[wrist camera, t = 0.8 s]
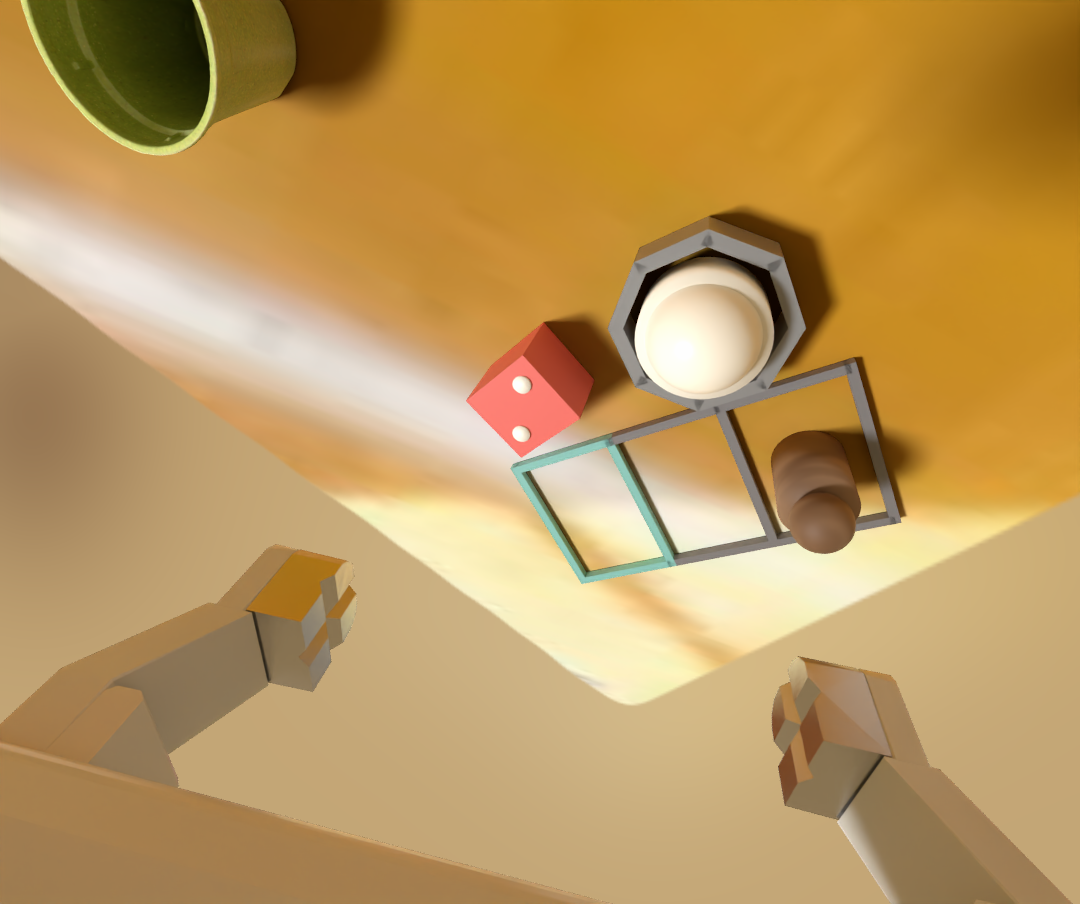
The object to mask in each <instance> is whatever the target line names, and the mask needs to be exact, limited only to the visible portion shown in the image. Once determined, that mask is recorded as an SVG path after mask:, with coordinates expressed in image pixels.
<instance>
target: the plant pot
mask: <svg viewBox="0 0 1080 904" xmlns="http://www.w3.org/2000/svg"><path fill="white" fill-rule="evenodd" d="M21 4H22V7H23V11H24V13H25V16H26V19H27V22H28V26H29V28H30V31H31V33H32V36H33V38H34V41H35V44H36V46H37V48H38V50H39V52H40V54H41V56H42V58H43V60H44V62H45V64H46V65H47V67H48V69H49V71H50V72H51V74H52V75H53V76H54V78H55V79H56V81H57V83H58V84H59V86H60V87H61V88H62V90H63V91H64V92H65V94H66V95H67V97H68V98H69V99H70V100H71V101H72V103H73V104H74V105H75V106H76V107H77V108H78V109H79V110H80V111H81V113H82V114H83V115H84V116H85V117H86V118H87V119H88V120H89V121H90V122H91V123H92V124H94V125H95V126H96V127H97V128H98V129H99V130H100V131H102V132H103V133H104V134H106V135H107V136H108V137H110V138H111V139H113V140H115V141H117V142H118V143H120V144H122V145H123V146H126V147H128V148H130V149H132V150H134V151H138V152H140V153H144V154H151V155H171V154H175V153H179V152H181V151H184V150H186V149H188V148H190V147H191V146H193V145H194V144H196V143H197V142H198V141H199V140H200V139H201V138H202V137H203V136H204V134H205V133H206V132H207V130H208V129H209V128H210V127H211V126H212V125H213V124H214V123H216V122H218V121H221V120H223V119H225V118H228V117H230V116H233V115H235V114H238V113H240V112H243V111H245V110H248V109H250V108H253V107H256V106H258V105H261V104H263V103H266V102H268V101H271V100H274V99H276V98H277V97H279V96H280V95H281V93H282V92H283V90H284V89H285V87H286V86H287V84H288V82H289V81H290V79H291V77H292V76H293V74H294V70H295V64H296V45H295V37H294V33H293V29H292V25H291V22H290V19H289V16H288V14H287V12H286V10H285V8H284V6H283V4H282V3H281V1H280V0H21Z"/></svg>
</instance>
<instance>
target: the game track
mask: <svg viewBox="0 0 1080 904" xmlns="http://www.w3.org/2000/svg"><path fill="white" fill-rule="evenodd" d="M844 375H847V377H848V381H849V384H850V388H851V391H852V394H853V398H854V401H855V405H856V408H857V412H858V415H859V418H860V422H861V425H862V429H863V432H864V435H865V439H866V442H867V446H868V449H869V452H870V456H871V459H872V463H873V466H874V469H875V473H876V476H877V480H878V483H879V486H880V490H881V493H882V497H883V500H884V503H885V507H886V510H887V512H884V513H879V514H874V515H869V516H864V517H859V518H857V519H856V529H855V531H860V530H865V529H870V528H876V527H881V526H886V525H891V524H896V523H902V522H901V519H900V515H899V512H898V508H897V505H896V501H895V498H894V494H893V491H892V487H891V484H890V480H889V477H888V473H887V469H886V466H885V462H884V459H883V455H882V452H881V448H880V445H879V441H878V438H877V434H876V431H875V427H874V424H873V420H872V417H871V413H870V410H869V406H868V402H867V399H866V395H865V392H864V388H863V385H862V381H861V378H860V374H859V371H858V367H857V364H856V361H855V359H854V358H851V359H848V360H845V361H841V362H838V363H835V364H832V365H829V366H825V367H822V368H819V369H816V370H813V371H809V372H806V373H803V374H800V375H797V376H793V377H790V378H787V379H784V380H781V381H777V382H774V383H771V385H770V386H769V388H768V390H767V391H763V392H760V393H757V394H754V395H750V396H747V397H744V398H741V399H737V400H734V401H731V402H728V403H725V404H721V405H718V406H715V407H712V408H708V409H705V410H702V411H699V412H698V411H695V410H693V409H688V410H685V411H681V412H678V413H675V414H672V415H669V416H665V417H662V418H659V419H656V420H653V421H649V422H646V423H643V424H640V425H637V426H633V427H630V428H627V429H624V430H621V431H617V432H614V433H611V434H608V435H605V436H602V437H598V438H595V439H592V440H589V441H586V442H582V443H579V444H576V445H573V446H570V447H566V448H563V449H560V450H557V451H554V452H550V453H547V454H544V455H541V456H538V457H534V458H531V459H528V460H525V461H522V462H518V463H515V464H513V465H512V467H511V470H512V472H513V473H514V475H515V476H516V478H517V480H518V481H519V483H520V485H521V486H522V488H523V489H524V491H525V493H526V494H527V496H528V498H529V499H530V501H531V502H532V504H533V506H534V507H535V509H536V511H537V512H538V514H539V515H540V517H541V519H542V520H543V522H544V524H545V525H546V527H547V528H548V530H549V532H550V533H551V535H552V537H553V538H554V540H555V541H556V543H557V545H558V546H559V548H560V549H561V551H562V553H563V554H564V556H565V558H566V559H567V561H568V562H569V564H570V566H571V567H572V569H573V571H574V572H575V574H576V575H577V577H578V579H579V580H580V582H581V584H584V583H589V582H594V581H599V580H604V579H610V578H615V577H620V576H625V575H630V574H636V573H641V572H646V571H651V570H657V569H662V568H667V567H672V566H677V565H683V564H688V563H693V562H698V561H703V560H709V559H714V558H719V557H724V556H730V555H735V554H740V553H745V552H750V551H756V550H761V549H766V548H771V547H776V546H782V545H787V544H792V543H797V542H796V540H795V539H794V538H793V536H792V534H791V532H790V531H789V532H784V533H779V534H777V533H776V531H775V528H774V526H773V523H772V521H771V518H770V516H769V513H768V511H767V508H766V506H765V504H764V501H763V499H762V496H761V494H760V491H759V489H758V486H757V484H756V481H755V479H754V476H753V474H752V471H751V469H750V466H749V464H748V461H747V459H746V456H745V454H744V452H743V449H742V447H741V444H740V442H739V439H738V437H737V434H736V432H735V429H734V427H733V424H732V422H731V419H730V417H729V414H728V412H727V411H728V410H731V409H735V408H738V407H741V406H745V405H748V404H751V403H754V402H758V401H761V400H764V399H768V398H771V397H774V396H778V395H781V394H784V393H788V392H791V391H794V390H797V389H801V388H804V387H807V386H811V385H814V384H817V383H821V382H824V381H827V380H831V379H834V378H837V377H840V376H844ZM715 414H716V415H717V418H718V420H719V423H720V425H721V427H722V430H723V432H724V435H725V437H726V439H727V442H728V444H729V447H730V449H731V452H732V454H733V456H734V459H735V461H736V464H737V466H738V468H739V471H740V473H741V476H742V478H743V481H744V483H745V485H746V488H747V490H748V493H749V495H750V497H751V500H752V502H753V505H754V507H755V509H756V512H757V514H758V517H759V519H760V522H761V524H762V526H763V529H764V531H765V534H766V536H764V537H759V538H754V539H749V540H744V541H739V542H734V543H729V544H724V545H719V546H714V547H709V548H704V549H699V550H694V551H690V552H685V553H680V554H675V555H674V553H673V551H672V549H671V547H670V545H669V543H668V541H667V539H666V537H665V535H664V533H663V531H662V529H661V527H660V525H659V523H658V521H657V519H656V517H655V515H654V514H653V512H652V510H651V508H650V506H649V504H648V502H647V500H646V498H645V496H644V494H643V492H642V490H641V488H640V486H639V484H638V482H637V480H636V478H635V476H634V474H633V472H632V470H631V468H630V466H629V465H628V463H627V461H626V459H625V457H624V455H623V453H622V451H621V449H620V447H619V445H618V444H619V443H622V442H625V441H629V440H632V439H635V438H639V437H642V436H645V435H649V434H652V433H655V432H659V431H662V430H665V429H668V428H672V427H675V426H678V425H682V424H685V423H688V422H692V421H695V420H698V419H702V418H705V417H708V416H711V415H715ZM606 447H607V448H608V450H609V452H610V454H611V456H612V458H613V460H614V462H615V464H616V466H617V468H618V469H619V471H620V473H621V475H622V477H623V479H624V481H625V483H626V485H627V487H628V489H629V491H630V492H631V494H632V496H633V498H634V500H635V502H636V504H637V506H638V508H639V510H640V512H641V514H642V516H643V517H644V519H645V521H646V523H647V525H648V527H649V529H650V531H651V533H652V535H653V537H654V539H655V540H656V542H657V544H658V546H659V548H660V550H661V552H662V554H663V556H664V557H660V558H655V559H650V560H645V561H640V562H635V563H630V564H625V565H620V566H615V567H610V568H605V569H600V570H595V571H590V572H586V571H585V569H584V568H583V566H582V564H581V563H580V561H579V559H578V558H577V556H576V554H575V553H574V551H573V549H572V548H571V546H570V544H569V543H568V541H567V539H566V538H565V536H564V534H563V533H562V531H561V530H560V528H559V526H558V525H557V523H556V521H555V520H554V518H553V516H552V515H551V513H550V511H549V510H548V508H547V506H546V505H545V503H544V501H543V500H542V498H541V496H540V495H539V493H538V491H537V490H536V488H535V487H534V485H533V483H532V482H531V480H530V478H529V477H528V475H527V473H526V471H530V470H533V469H536V468H539V467H543V466H546V465H549V464H553V463H556V462H559V461H563V460H566V459H569V458H573V457H576V456H579V455H582V454H586V453H589V452H592V451H596V450H599V449H602V448H606Z"/></svg>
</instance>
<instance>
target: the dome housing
mask: <svg viewBox="0 0 1080 904" xmlns="http://www.w3.org/2000/svg"><path fill="white" fill-rule="evenodd" d="M706 247H709V248H711V249H714V250H717V251H719V252H722V253H724V254H727V255H730V256H732V257H735V258H737V259H740V260H743V261H745V262H748V263H751V264H753V265H756V266H758V267H761V268H764V269H766V270H769V272H770V275H771V278H772V281H773V284H774V287H775V290H776V293H777V296H778V299H779V302H780V305H781V308H782V313H781V314H780V316H779V318H778V319H777V321H776V323H775V324H774V341H773V346H772V350H771V353H770V356H769V358H768V360H767V362H766V364H765V365H764V367H763V368H762V370H761V371H760V372H759V373H758V375H757V376H756V377H755V378H754V379H753V380H751V381H750V382H749V383H748V384H747V385H745V386H744V387H742V388H741V389H739V390H737V391H735V392H733V393H730V394H728V395H725V396H721V397H717V398H711V399H690V398H685V397H681V396H678V395H675V394H672V393H670V392H668V391H666V390H664V389H663V388H661V387H660V386H658V385H657V384H656V383H655V382H653V380H652V379H651V378H650V377H649V376H648V375H647V374H646V372H645V371H644V370H643V368H642V366H641V364H640V362H639V359H638V357H637V353H636V349H635V330H636V325H635V323H634V321H633V319H632V316H631V314H630V311H631V308H632V306H633V303H634V301H635V298H636V296H637V294H638V291H639V289H640V286H641V284H642V282H643V279H644V277H645V274H646V273H648V272H651V271H653V270H655V269H658V268H660V267H662V266H664V265H667V264H669V263H671V262H674V261H676V260H678V259H681V258H683V257H685V256H688V255H690V254H692V253H694V252H697V251H699V250H701V249H704V248H706ZM805 329H806V326H805V323H804V320H803V317H802V314H801V311H800V308H799V305H798V301H797V298H796V295H795V292H794V289H793V286H792V282H791V279H790V276H789V273H788V270H787V266H786V263H785V260H784V256H783V253H782V250H781V247H780V244H779V243H778V242H775V241H773V240H770V239H767V238H765V237H762V236H760V235H757V234H754V233H752V232H749V231H746V230H744V229H741V228H739V227H736V226H733V225H731V224H728V223H725V222H723V221H720V220H718V219H715V218H712V217H710V216H708V217H706V218H704V219H702V220H700V221H697V222H695V223H693V224H691V225H689V226H686V227H684V228H682V229H680V230H678V231H675V232H673V233H671V234H669V235H667V236H664V237H662V238H660V239H658V240H656V241H654V242H651V243H649V244H647V245H645V246H643V247H640V248H639V250H638V253H637V256H636V258H635V261H634V263H633V266H632V268H631V271H630V273H629V276H628V279H627V281H626V284H625V286H624V289H623V291H622V294H621V296H620V299H619V301H618V304H617V306H616V309H615V311H614V313H613V316H612V318H611V321H610V324H609V326H608V330H609V332H610V334H611V337H612V339H613V341H614V343H615V345H616V347H617V349H618V351H619V354H620V356H621V358H622V360H623V362H624V364H625V366H626V368H627V370H628V373H629V375H630V377H631V379H632V381H633V383H634V385H635V387H636V388H639V389H641V390H644V391H647V392H649V393H652V394H654V395H657V396H659V397H662V398H664V399H667V400H670V401H672V402H675V403H677V404H680V405H682V406H685V407H687V408H690V409H693V410H695V411H698V412H699V411H702V410H705V409H708V408H712V407H715V406H718V405H721V404H725V403H728V402H731V401H734V400H737V399H741V398H744V397H747V396H750V395H754V394H757V393H760V392H763V391H767V390H768V388H769V386H770V385H771V383H772V382H773V380H774V378H775V377H776V375H777V374H778V372H779V371H780V369H781V367H782V366H783V364H784V363H785V361H786V359H787V358H788V356H789V355H790V353H791V351H792V350H793V348H794V347H795V345H796V343H797V342H798V340H799V339H800V337H801V336H802V334H803V332H804V331H805Z"/></svg>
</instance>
